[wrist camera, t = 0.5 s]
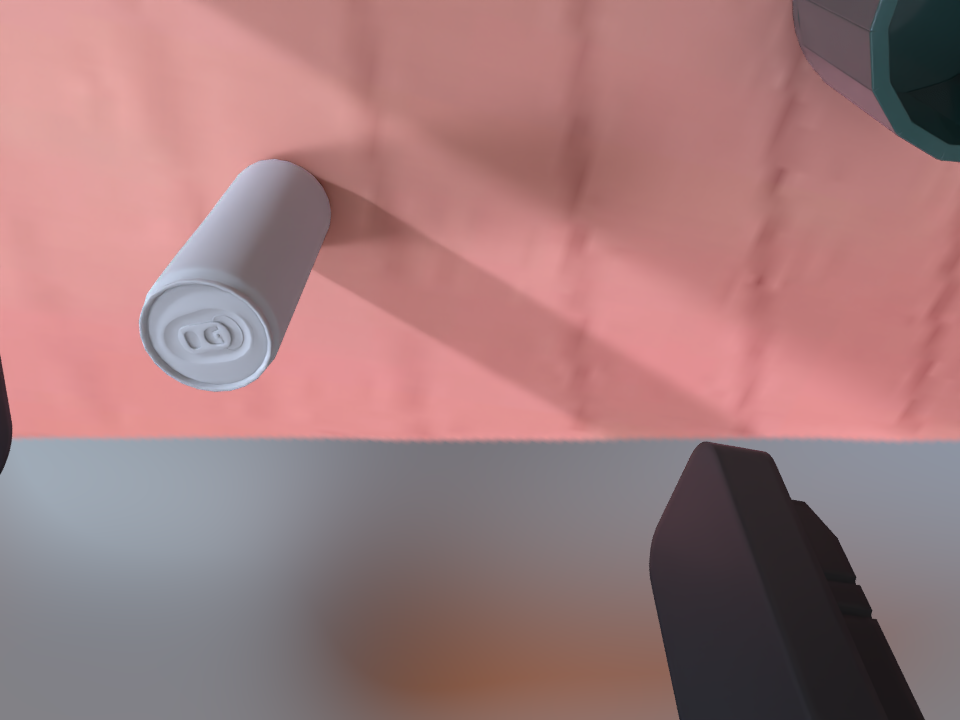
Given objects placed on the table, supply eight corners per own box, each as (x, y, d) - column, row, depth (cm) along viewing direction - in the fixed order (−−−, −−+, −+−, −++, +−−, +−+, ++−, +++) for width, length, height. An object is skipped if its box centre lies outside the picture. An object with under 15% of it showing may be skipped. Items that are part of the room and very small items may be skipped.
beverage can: (346, 240, 38) (295, 383, 28) (253, 258, 39) (170, 405, 29) (314, 144, 35) (245, 264, 26) (214, 166, 36) (109, 291, 26)
